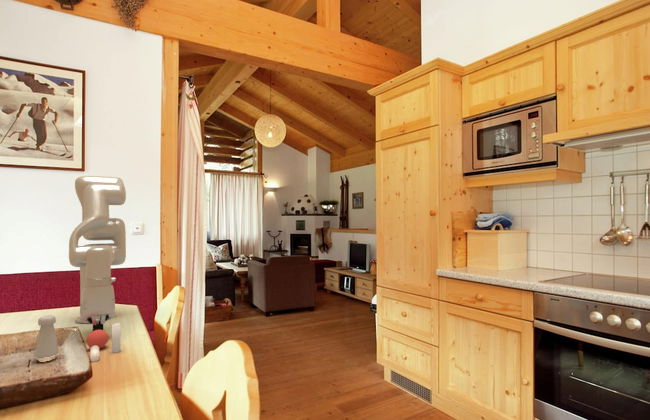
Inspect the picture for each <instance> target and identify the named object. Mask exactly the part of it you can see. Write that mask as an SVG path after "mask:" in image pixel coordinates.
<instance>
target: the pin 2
mask: <svg viewBox="0 0 650 420" xmlns="http://www.w3.org/2000/svg"><path fill="white" fill-rule="evenodd" d="M121 329H122V327H121V322H116V323H112V324H111V353H112V354H116V353H120V352H121V345H122V344H121V339H122V338H121V331H122V330H121Z"/></svg>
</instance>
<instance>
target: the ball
mask: <svg viewBox="0 0 650 420" xmlns="http://www.w3.org/2000/svg"><path fill="white" fill-rule="evenodd" d="M108 341H109V334H108V333H107V331H105V330H104V329H103V330H95V331H93V330H92V331H91V332H90V333H89V335H88V336H87V338H86V343H87V347H89V349H91V347H92V346H95V345H97V346H98V347H99V350H100V349H102V348H104V347H105V346H106V345H107V343H108Z"/></svg>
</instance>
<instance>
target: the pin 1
mask: <svg viewBox="0 0 650 420" xmlns="http://www.w3.org/2000/svg"><path fill="white" fill-rule="evenodd" d="M89 349H90V350H89V353H90V355H89V360H90V359H91V360H90V362H92V363H95V362H98V361H99V360H100V356H101V355H100V349H99V347H98V346H97V345H95V346H92V347H91V348H89Z"/></svg>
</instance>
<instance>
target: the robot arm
mask: <svg viewBox="0 0 650 420" xmlns="http://www.w3.org/2000/svg"><path fill="white" fill-rule="evenodd" d="M74 190H75V193H76V196H77V198H78V200H79V204H80V206H81V212H82V213H81V216H82V218H81V219H82V220H81V221H82V222H80V223H79V224H78V225H77V226H76V227H75V228H74V229H73V231H72V232H71V234H70V237H69V242H68V260H69V264H70V265H71V266H72V267H75V268H79V275H80V277H79V278H80V280H79V284H80V285H79V286H80V288H79V289H80V291H79V293H80V296H79V297H80V298H79V299H80V300H79V301H80V302H79V316H77V317H76V318H75V323H77V324H92V332H93V331H95V330H104V324H105V323H106V322H107V320H110V318H113V317H115V316H116V315H117V314H116V313H117V312H116V299H115V297H116V295H115V290H114V286H113V285H114V284H112V283H114V282H116V277H112V274H111V273H112V266H120V265H123V264H124V263H125V262H126V258H127V254H126V253H127V251H126V250H127V249H126V248H127V245H126V244H127V243H126V242H127V241H126V240H127V238H126V236H127V235H126V234H127V233H126V224H125V221H124V220H123V219H121V218H118V217H114V218H113V217H110V206H123V205H124V204H125V202H126V199H127V191H126V188H125V183H124V181H123V180H122V178H120V177H117V176H116V177H114V176H99V175H83V176H82V175H81V176H79V177H77V178H76V179H75V181H74ZM81 237H83V239H85V240H86V241H113V242H112V243H111V242H110V243H89V244H84V245H79V240H80V238H81Z"/></svg>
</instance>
